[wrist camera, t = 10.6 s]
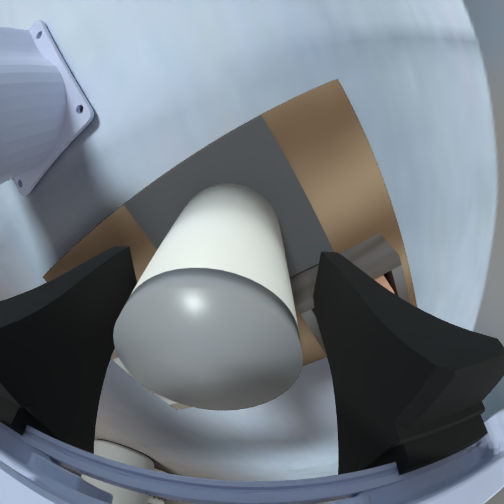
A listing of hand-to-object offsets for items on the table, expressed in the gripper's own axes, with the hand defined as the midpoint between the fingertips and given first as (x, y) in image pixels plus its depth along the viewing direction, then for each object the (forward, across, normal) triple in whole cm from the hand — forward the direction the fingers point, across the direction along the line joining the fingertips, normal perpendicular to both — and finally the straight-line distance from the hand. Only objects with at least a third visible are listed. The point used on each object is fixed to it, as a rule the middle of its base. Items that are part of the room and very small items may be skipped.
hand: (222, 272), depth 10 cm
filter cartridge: (+4, 0, 0) cm, 4 cm away
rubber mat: (+4, 0, 0) cm, 4 cm away
